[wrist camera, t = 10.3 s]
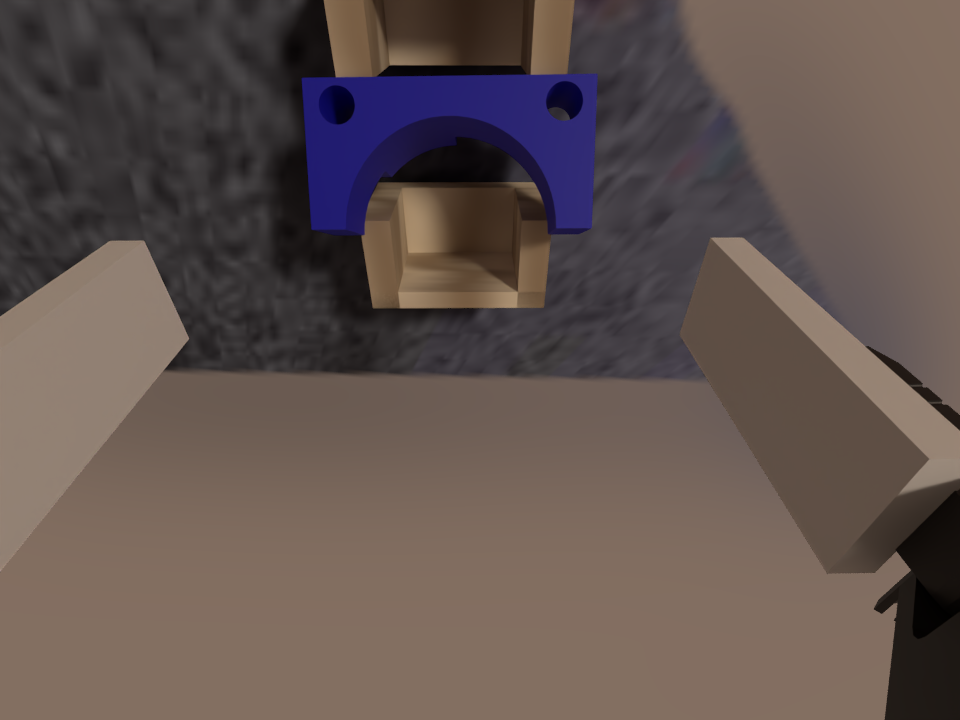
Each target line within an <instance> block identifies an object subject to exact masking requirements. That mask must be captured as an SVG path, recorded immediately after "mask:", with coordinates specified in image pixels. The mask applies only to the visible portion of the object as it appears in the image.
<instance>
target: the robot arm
mask: <svg viewBox="0 0 960 720" xmlns="http://www.w3.org/2000/svg"><path fill="white" fill-rule="evenodd" d="M680 336H681V338H682V339H683V341H684V343H685V344H686V346H687V348H688V349H689V351H690V352H691V354H692V356H693V357H694V359H695V361H696V362H697V364H698V365H699V367H700V369H701V370H702V372H703V373H704V375H705V377H706V378H707V380H708V382H709V383H710V385H711V386H712V388H713V390H714V391H715V393H716V394H717V396H718V398H719V399H720V401H721V402H722V404H723V406H724V407H725V409H726V411H727V412H728V414H729V416H730V417H731V419H732V420H733V422H734V424H735V425H736V427H737V429H738V430H739V432H740V433H741V435H742V437H743V438H744V440H745V441H746V442H747V445H748V446H749V448H750V450H751V451H752V453H753V454H754V456H755V458H756V459H757V461H758V462H759V464H760V466H761V467H762V469H763V471H764V472H765V474H766V475H767V477H768V479H769V480H770V482H771V483H772V485H773V487H774V488H775V490H776V491H777V493H778V495H779V496H780V498H781V500H782V501H783V503H784V504H785V506H786V508H787V509H788V511H789V513H790V514H791V516H792V518H793V519H794V520H795V522H796V524H797V526H798V527H799V529H800V530H801V532H802V534H803V535H804V537H805V539H806V540H807V542H808V543H809V545H810V547H811V548H812V550H813V551H814V553H815V554H816V556H817V558H818V559H819V561H820V563H821V564H822V566H823V568H824V569H825V571H826V572H827V574H828V573H875V572H876V571H877V570H878V569H879V568H880V567H881V566H882V565H883V564H884V563H885V562H886V561H887V560H888V559H889V558H890V557H891V556H892V555H893V554H894V553H895V552H896V551H897V552H898V554H899V555H900V556H901V558H902V559H903V560H904V561H905V563H906V564H907V565H908V566H909V568H910V569H911V571H910V572H909V573H908V574H907V575H906V576H904V577H903V578H902V579H901V580H900V581H899V582H898V583H897V584H895V585H894V586H893V587H892V588H891V589H890V590H889V591H888V592H887V593H886V594H884V595H883V596H882V597H881V598H880V599H879V600H878V602H877V604H876V606H875V608H874V610H876V611H878V612H880V613H881V614H882V613H883V612H885V611H886V610H887V609H888V608H889V607H890V606H891V605H893V604H894V603H898V605H897V614H896V618H895V619H894V621H896V623H895V632H894V641H893V650H892V659H891V668H890V677H889V686H888V695H887V705H886V714H885V720H960V415H959V414H958V413H956V412H955V411H954V410H953V409H952V408H951V407H949V406H948V405H943V404H942V400H941V399H940V398H939V397H938V396H937V395H935V394H934V393H933V392H932V391H931V390H930V389H929V388H927V387H926V388H923V387H922V383H921V382H920V381H919V380H918V379H917V378H916V377H914V376H913V375H912V374H911V373H910V372H909V371H908V370H906V369H905V368H904V367H903V366H902V365H900V364H899V363H898V362H896V361H894V360H892V359H890V358H889V357H887V356H885V355H883V354H881V353H880V352H878V351H876V350H874V349H872V348H871V347H869V346H864V345H863V344H862V343H861V342H860V341H858V340H857V339H856V338H855V337H854V336H853V335H852V334H851V333H849V332H848V331H847V330H846V329H845V328H844V327H843V326H842V325H840V324H839V323H838V322H837V321H836V320H835V319H834V318H833V317H831V316H830V315H829V314H828V313H827V312H826V311H825V310H824V309H822V308H821V307H820V306H819V305H818V304H817V303H816V302H815V301H813V300H812V299H811V298H810V297H809V296H808V295H807V294H806V293H804V292H803V291H802V290H801V289H800V288H799V287H798V286H797V285H795V284H794V283H793V282H792V281H791V280H790V279H789V278H788V277H786V276H785V275H784V274H783V273H782V272H781V271H780V270H779V269H777V268H776V267H775V266H774V265H773V264H772V263H771V262H770V261H769V260H767V259H766V258H765V257H764V256H763V255H762V254H761V253H760V252H758V251H757V250H756V249H755V248H754V247H753V246H752V245H751V244H749V243H748V242H747V241H746V240H745V239H744V238H710V241H709V244H708V247H707V251H706V254H705V257H704V260H703V263H702V266H701V269H700V272H699V275H698V279H697V282H696V285H695V288H694V291H693V294H692V297H691V300H690V304H689V307H688V310H687V313H686V316H685V319H684V322H683V325H682V328H681V332H680ZM188 340H189V337H188V335H187V333H186V331H185V328H184V326H183V324H182V322H181V320H180V318H179V315H178V313H177V311H176V309H175V307H174V305H173V302H172V300H171V298H170V296H169V294H168V292H167V290H166V287H165V285H164V283H163V281H162V279H161V277H160V274H159V272H158V270H157V268H156V266H155V264H154V261H153V259H152V257H151V255H150V253H149V251H148V248H147V246H146V244H145V242H144V241H109V242H108V243H106V244H105V245H104V246H102V247H101V248H99V249H98V250H96V251H95V252H93V253H92V254H90V255H89V256H88V257H86V258H85V259H83V260H82V261H80V262H79V263H77V264H76V265H75V266H73V267H72V268H70V269H69V270H67V271H66V272H64V273H63V274H61V275H60V276H59V277H57V278H56V279H54V280H53V281H51V282H50V283H48V284H47V285H45V286H44V287H43V288H41V289H40V290H38V291H37V292H35V293H34V294H32V295H31V296H29V297H28V298H27V299H25V300H24V301H22V302H21V303H19V304H18V305H16V306H15V307H13V308H12V309H11V310H9V311H8V312H6V313H5V314H3V315H2V316H0V571H1V570H2V569H3V567H4V566H5V565H6V564H7V563H8V561H9V560H10V559H11V558H12V556H13V555H14V554H15V553H16V552H17V550H18V549H19V548H20V547H21V545H22V544H23V543H24V542H25V540H26V539H27V538H28V537H29V535H30V534H31V533H32V532H33V531H34V529H35V528H36V527H37V526H38V524H39V523H40V522H41V521H42V520H43V518H44V517H45V516H46V515H47V513H48V512H49V511H50V510H51V508H52V507H53V506H54V504H56V502H57V501H58V500H59V499H60V497H61V496H62V495H63V493H64V492H65V491H66V490H67V489H68V488H69V486H70V485H71V484H72V483H73V481H74V480H75V479H76V478H77V476H78V475H79V474H80V473H81V471H82V470H83V469H84V468H85V467H86V465H87V464H88V463H89V462H90V460H91V459H92V458H93V457H94V455H95V454H96V453H97V452H98V451H99V449H100V448H101V447H102V446H103V444H104V443H105V442H106V441H107V439H108V438H109V437H110V436H111V435H112V433H113V432H114V431H115V429H116V428H117V427H118V426H119V425H120V423H121V422H122V421H123V419H124V418H125V417H126V416H127V415H128V414H129V412H130V411H131V410H132V409H133V407H134V406H135V405H136V404H137V402H138V401H139V400H140V399H141V397H142V396H143V395H144V394H145V393H146V391H147V390H148V389H149V388H150V386H151V385H152V384H153V383H154V381H155V380H156V379H157V378H158V377H159V375H160V374H161V373H162V372H163V370H164V369H165V368H166V367H167V366H168V364H169V363H170V362H171V361H172V359H173V358H174V357H175V356H176V354H177V353H178V352H179V351H180V350H181V348H182V347H183V346H184V345H185V343H186V342H187V341H188Z"/></svg>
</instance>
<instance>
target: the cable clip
mask: <svg viewBox="0 0 960 720" xmlns="http://www.w3.org/2000/svg"><path fill="white" fill-rule="evenodd" d="M302 90H303V106H304V121H305V136H306V152H307V167H308V183H309V198H310V213H311V229H312V230H315V231H319V232H323V233H327V234H331V235H365V218H366V212H367V207H368V204H369V201H370V198H371V195H372V193H373V190H374V188H375V186H376V184H377V183H378V181H379V179H380V178H381V177H392V176H393V175H394V174H395V173H396V172H397V171H398V170H399V169H400V168H401V167H402V166H403V165H405V164H406V163H407V162H408V161H410V160H411V159H413V158H414V157H416V156H418V155H420V154H422V153H424V152H426V151H429V150H432V149H435V148H439V147H444V146H452V145H457V137H466V138H473V139H477V140H481V141H484V142H487V143H490V144H492V145H494V146H496V147H498V148H500V149H501V150H503V151H505V152H506V153H508V154H509V155H510V156H512V157H513V158H514V159H515V160H516V161H517V162H518V163H519V164H520V165H521V166H522V167H523V168H524V169H525V170H526V171H527V173H528V174H529V175H530V177H531V178H532V180H533V181H534V183H535V185H536V187H537V189H538V191H539V193H540V195H541V198H542V201H543V203H544V207H545V211H546V217H547V224H548V234H580V233H582V232H584V231H587V230H589V229H591V228H592V205H593V178H594V152H595V126H596V100H597V74H542V75H468V76H393V77H318V78H302ZM552 107H559V108H562V109H564V110H565V111H566V112H567V113H568V115H569V117H570V120H568V121H560V120H557V119H555V118H554V117H552V116H551V115H550V113H549V112H548V109H549V108H552Z"/></svg>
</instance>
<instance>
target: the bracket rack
mask: <svg viewBox="0 0 960 720" xmlns="http://www.w3.org/2000/svg"><path fill="white" fill-rule="evenodd" d="M324 5H325V12H326V18H327V24H328V30H329V37H330V43H331V49H332V55H333V62H334V68H335V74H336V77H376V76H378V75H379V74H380V73H381V72H382V71H384V70H385V69H386V68H387V67H388V66H389V65H521V67H522V68H523V70H524V71H525V73H526V74H527V75H542V74H567V69H568V59H569V49H570V39H571V29H572V19H573V9H574V0H324ZM361 237H362V243H363V249H364V255H365V262H366V268H367V274H368V280H369V287H370V293H371V299H372V305H373V308H544V300H545V290H546V280H547V270H548V260H549V250H550V240H551V234H548V224H547V217H546V211H545V207H544V203H543V201H542V198H541V195H540V193H539V191H538V189H537V187H536V185H535V183H534V182H378V184H377V186H376V188H375V190H374V192H373V194H372V196H371V198H370V201H369V204H368V207H367V212H366V218H365V235H361Z"/></svg>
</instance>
